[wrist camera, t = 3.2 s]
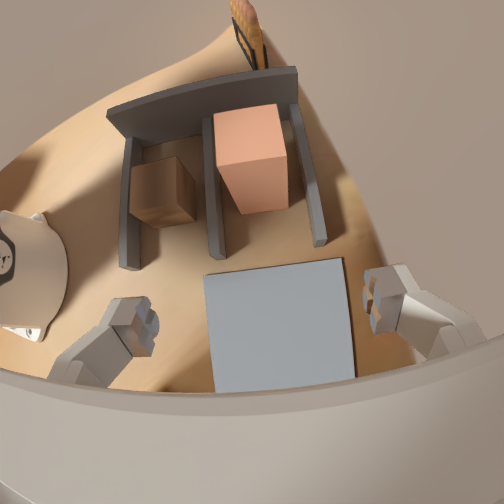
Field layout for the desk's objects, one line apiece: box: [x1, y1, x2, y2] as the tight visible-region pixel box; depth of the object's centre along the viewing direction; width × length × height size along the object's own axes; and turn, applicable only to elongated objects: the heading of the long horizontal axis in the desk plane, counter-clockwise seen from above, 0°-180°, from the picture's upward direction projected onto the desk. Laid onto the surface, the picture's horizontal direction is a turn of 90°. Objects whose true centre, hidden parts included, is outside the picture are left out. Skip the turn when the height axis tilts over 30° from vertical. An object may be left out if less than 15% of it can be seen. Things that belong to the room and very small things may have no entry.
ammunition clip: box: [230, 0, 268, 71], centre depth 30 cm, size 11×2×12 cm, turn 17°
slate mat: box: [203, 258, 355, 393], centre depth 28 cm, size 14×13×1 cm
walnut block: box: [129, 156, 196, 229], centre depth 29 cm, size 5×5×6 cm
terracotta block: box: [214, 104, 288, 215], centre depth 26 cm, size 5×5×11 cm
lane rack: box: [106, 66, 327, 271], centre depth 28 cm, size 21×17×8 cm
